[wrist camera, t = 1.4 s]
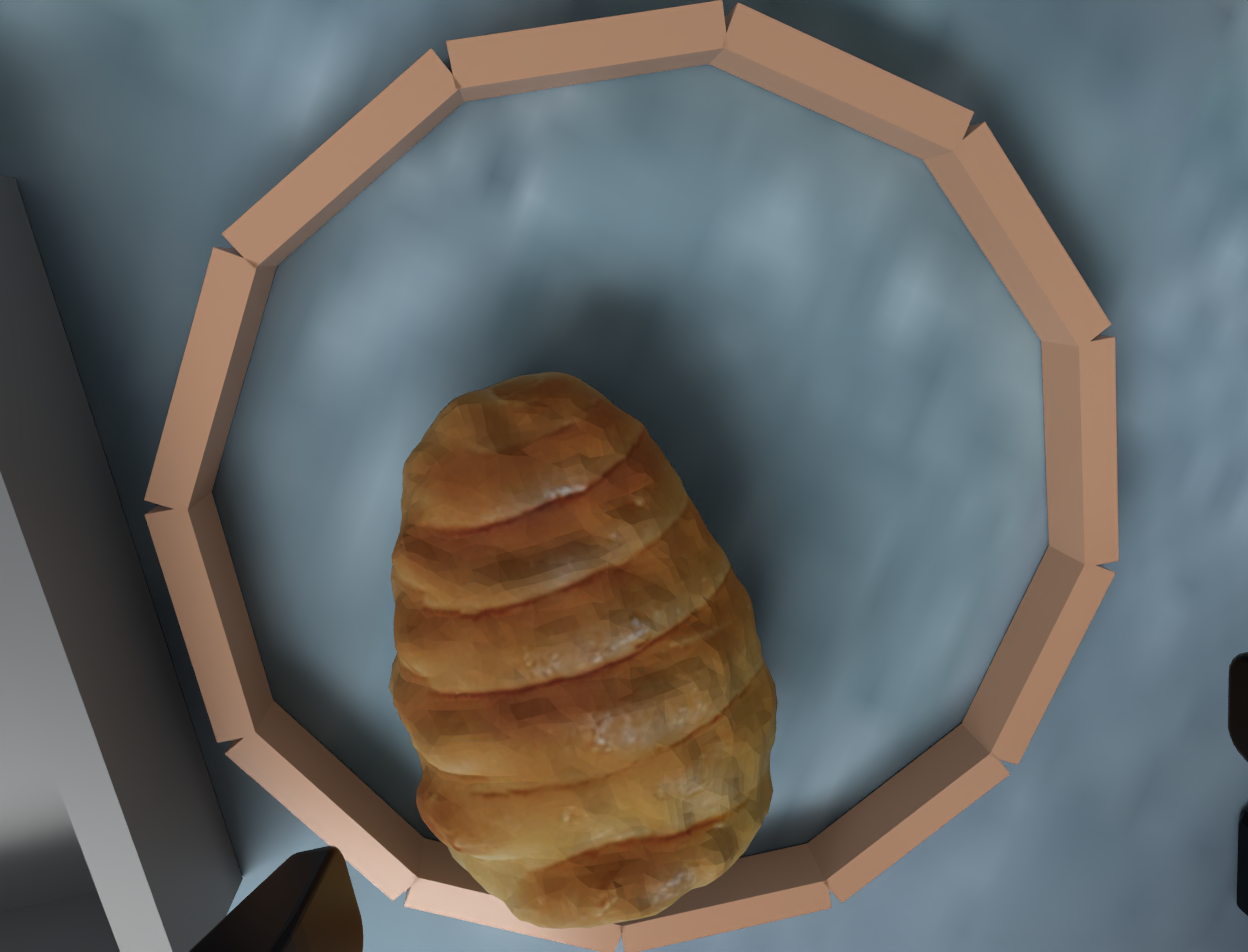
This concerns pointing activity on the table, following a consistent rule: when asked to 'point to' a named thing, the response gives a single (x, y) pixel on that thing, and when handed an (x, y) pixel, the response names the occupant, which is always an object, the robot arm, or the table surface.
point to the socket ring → (583, 55)
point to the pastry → (574, 659)
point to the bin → (85, 674)
